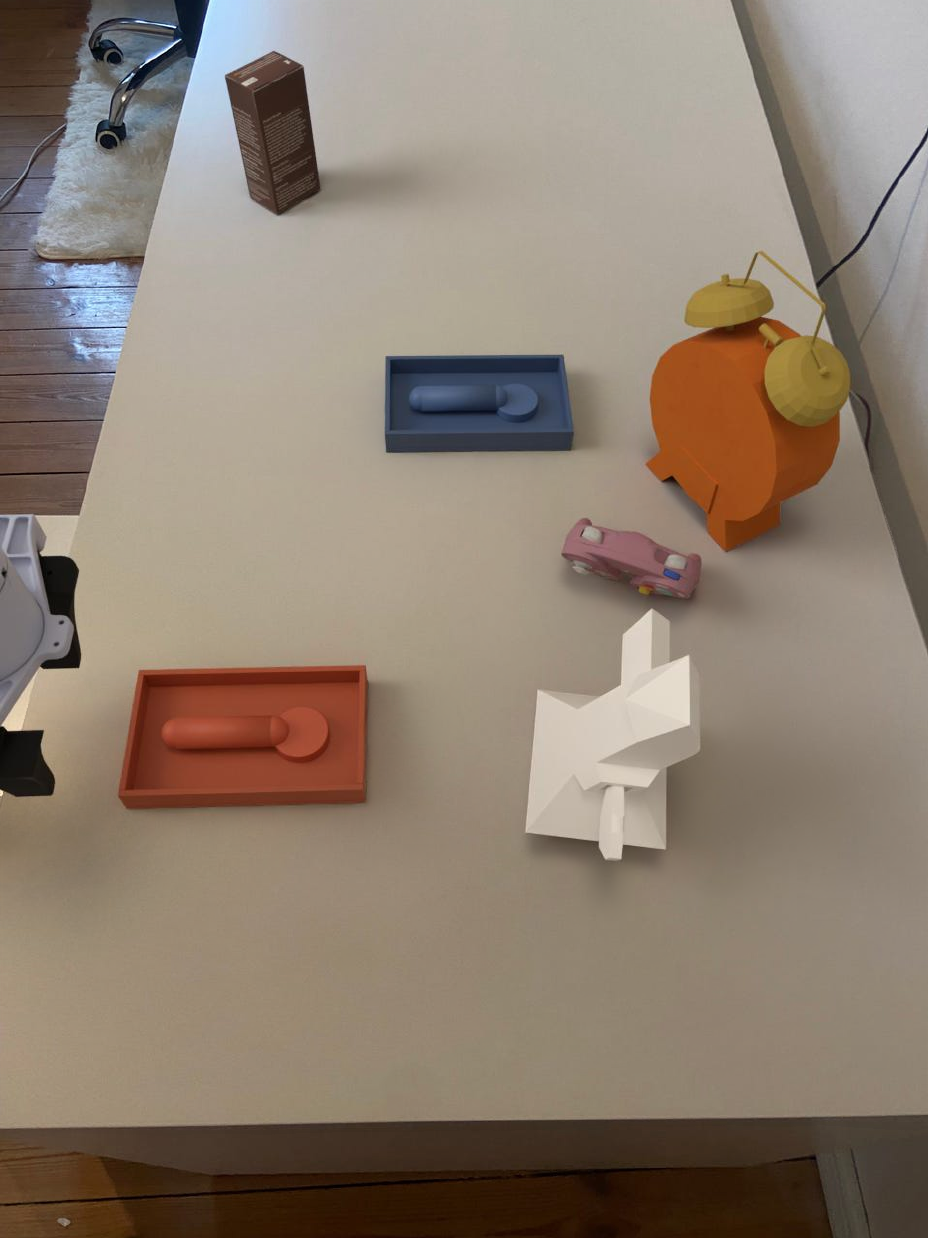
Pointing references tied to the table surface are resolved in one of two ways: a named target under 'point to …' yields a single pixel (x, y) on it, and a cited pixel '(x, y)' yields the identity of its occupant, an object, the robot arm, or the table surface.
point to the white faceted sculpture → (615, 747)
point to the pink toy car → (631, 559)
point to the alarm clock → (746, 408)
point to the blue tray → (476, 427)
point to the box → (274, 130)
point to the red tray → (250, 771)
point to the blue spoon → (478, 400)
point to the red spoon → (253, 733)
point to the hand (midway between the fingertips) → (49, 724)
